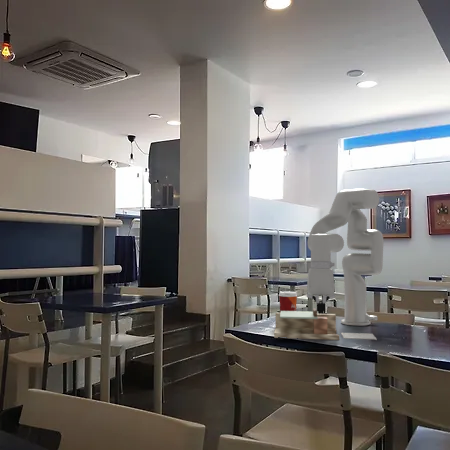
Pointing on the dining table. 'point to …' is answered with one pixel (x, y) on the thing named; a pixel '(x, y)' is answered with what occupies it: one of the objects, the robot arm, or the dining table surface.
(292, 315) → the sliding lid
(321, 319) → the terracotta block
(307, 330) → the wooden box
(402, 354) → the dining table surface
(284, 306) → the coffee cup
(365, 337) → the grey mat
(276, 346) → the dining table surface
